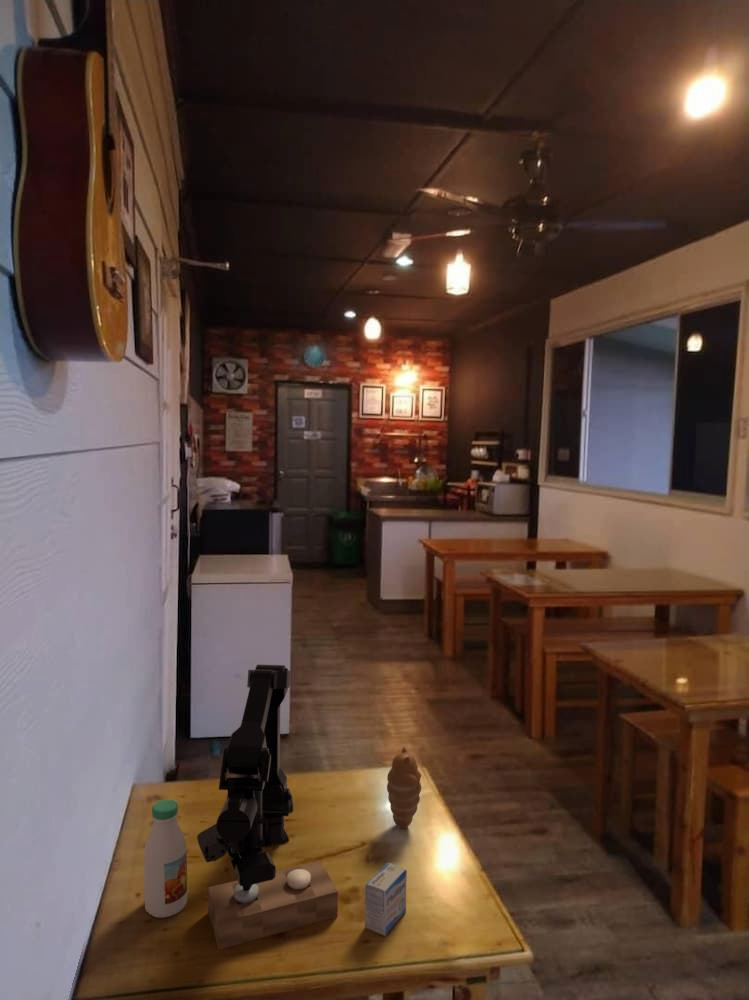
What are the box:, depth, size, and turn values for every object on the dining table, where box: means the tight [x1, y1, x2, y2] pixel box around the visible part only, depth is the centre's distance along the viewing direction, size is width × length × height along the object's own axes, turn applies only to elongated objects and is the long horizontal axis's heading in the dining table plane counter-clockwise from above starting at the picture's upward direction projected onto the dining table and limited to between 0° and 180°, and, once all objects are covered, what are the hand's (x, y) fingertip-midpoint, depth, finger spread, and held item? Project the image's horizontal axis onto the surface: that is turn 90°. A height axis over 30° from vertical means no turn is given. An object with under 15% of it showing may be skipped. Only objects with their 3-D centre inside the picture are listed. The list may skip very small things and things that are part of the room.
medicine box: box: [364, 862, 408, 937], centre depth 128 cm, size 8×4×9 cm, turn 148°
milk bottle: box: [143, 798, 188, 919], centre depth 130 cm, size 8×8×20 cm
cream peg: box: [287, 869, 311, 891], centre depth 130 cm, size 4×4×6 cm
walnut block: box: [207, 860, 339, 951], centre depth 129 cm, size 10×22×5 cm, turn 113°
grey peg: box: [234, 884, 258, 905], centre depth 126 cm, size 4×4×6 cm
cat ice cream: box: [386, 746, 422, 829], centre depth 157 cm, size 9×8×18 cm
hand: (246, 889), depth 126 cm, fingers closed, pressing on grey peg
